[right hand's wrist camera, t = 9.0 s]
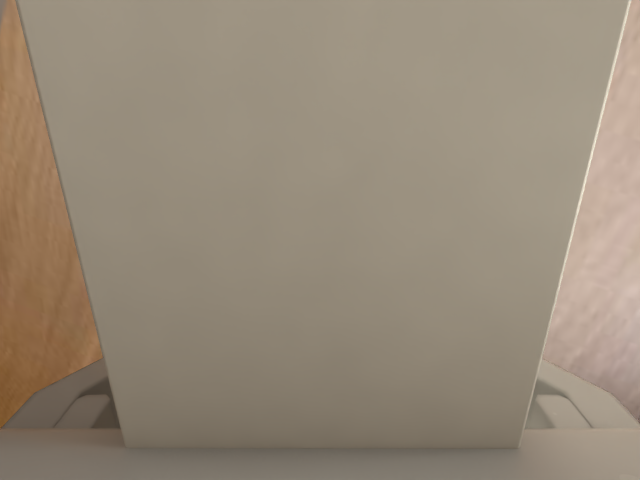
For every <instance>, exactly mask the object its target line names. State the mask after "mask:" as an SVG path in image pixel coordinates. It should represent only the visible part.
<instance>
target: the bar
mask: <svg viewBox="0 0 640 480" xmlns="http://www.w3.org/2000/svg"><path fill="white" fill-rule="evenodd" d="M15 1H16V5H17V9H18V13H19V17H20V21H21V25H22V29H23V34H24V38H25V42H26V46H27V50H28V54H29V58H30V62H31V66H32V70H33V74H34V78H35V82H36V86H37V90H38V94H39V99H40V103H41V107H42V111H43V115H44V119H45V123H46V127H47V131H48V135H49V139H50V143H51V147H52V151H53V155H54V159H55V164H56V168H57V172H58V176H59V180H60V184H61V188H62V192H63V196H64V200H65V204H66V208H67V212H68V216H69V220H70V224H71V229H72V233H73V237H74V241H75V245H76V249H77V253H78V257H79V261H80V265H81V269H82V273H83V277H84V281H85V285H86V290H87V294H88V298H89V302H90V306H91V310H92V314H93V318H94V322H95V326H96V330H97V334H98V338H99V342H100V346H101V350H102V355H103V359H104V363H105V367H106V371H107V375H108V379H109V383H110V387H111V391H112V395H113V399H114V403H115V407H116V411H117V415H118V420H119V424H120V428H121V432H122V436H123V440H124V444H125V447H126V448H382V449H518V448H520V444H521V440H522V436H523V432H524V428H525V424H526V420H527V416H528V412H529V408H530V404H531V400H532V396H533V392H534V388H535V384H536V380H537V376H538V372H539V368H540V364H541V360H542V356H543V352H544V348H545V344H546V340H547V336H548V332H549V328H550V324H551V320H552V316H553V312H554V308H555V304H556V300H557V296H558V292H559V288H560V284H561V280H562V276H563V272H564V268H565V264H566V260H567V256H568V252H569V248H570V244H571V240H572V236H573V232H574V228H575V224H576V220H577V216H578V212H579V208H580V204H581V200H582V196H583V192H584V188H585V184H586V180H587V176H588V172H589V168H590V164H591V160H592V156H593V152H594V148H595V144H596V140H597V136H598V132H599V128H600V124H601V120H602V116H603V112H604V108H605V104H606V100H607V96H608V92H609V88H610V84H611V80H612V76H613V72H614V68H615V64H616V60H617V56H618V52H619V48H620V44H621V40H622V36H623V32H624V28H625V24H626V20H627V16H628V12H629V8H630V4H631V0H15Z"/></svg>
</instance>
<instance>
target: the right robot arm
mask: <svg viewBox="0 0 640 480" xmlns="http://www.w3.org/2000/svg"><path fill="white" fill-rule="evenodd" d="M0 480H640V423H639V422H638V421H637V420H636V419H635V418H634V417H633V416H632V415H631V414H630V412H629V411H628V410H627V409H626V408H625V407H624V406H623V405H622V404H621V403H620V402H619V401H618V400H617V399H616V398H615V397H614V396H613V395H612V394H611V393H609V392H607V391H605V390H603V389H601V388H599V387H597V386H596V385H594V384H592V383H590V382H588V381H586V380H584V379H582V378H580V377H578V376H576V375H574V374H572V373H570V372H568V371H566V370H564V369H562V368H560V367H558V366H556V365H554V364H552V363H550V362H548V361H546V360H544V359H542V360H541V364H540V368H539V372H538V376H537V380H536V384H535V388H534V392H533V396H532V400H531V404H530V408H529V412H528V416H527V420H526V424H525V428H524V432H523V436H522V440H521V444H520V448H518V449H382V448H126V447H125V444H124V440H123V436H122V432H121V428H120V424H119V420H118V415H117V411H116V407H115V403H114V399H113V395H112V391H111V387H110V383H109V379H108V375H107V371H106V367H105V363H104V359H103V358H102V359H100V360H98V361H96V362H94V363H92V364H90V365H88V366H86V367H84V368H82V369H80V370H78V371H76V372H74V373H73V374H71V375H69V376H67V377H65V378H63V379H61V380H59V381H57V382H55V383H53V384H51V385H49V386H47V387H45V388H43V389H41V390H39V391H37V392H35V393H34V394H33V395H32V396H31V397H30V398H29V399H28V400H27V401H26V402H25V404H24V405H23V406H22V407H21V408H20V409H19V410H18V411H17V412H16V413H15V414H14V415H13V416H12V417H11V418H10V419H9V420H8V422H7V423H6V424H5V425H4V426H3V427H2V428H0Z"/></svg>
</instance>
